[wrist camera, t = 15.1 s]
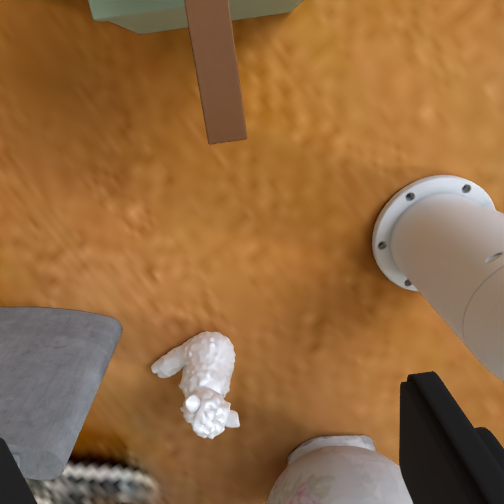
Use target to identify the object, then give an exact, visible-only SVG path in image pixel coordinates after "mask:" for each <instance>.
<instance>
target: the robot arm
mask: <svg viewBox="0 0 504 504" xmlns="http://www.w3.org/2000/svg"><path fill="white" fill-rule="evenodd" d="M463 186H464V187H463ZM462 187H463V188H462ZM408 193H409V195H408V196H407V197H406V195H407V194H408ZM380 242H382V243H381V244H379V243H380ZM372 249H373V254H374V258H375V260H376V262H377V265H378V266H379V268H380V269H381V271H382V272H383V273H384V274H385V276H386V277H387V278H388V279H389V280H390V281H392V282H393V283H395V284H396V285H398V286H400V287H402V288H404V289H407V290H412V291H417V292H420V293H421V294H422V296H423V297H424V298H425V299H426V300H427V301H428V303H429V304H430V305H431V306H432V307H433V308H434V310H435V311H436V312H437V313H438V314H439V315H440V317H441V318H442V319H443V320H444V321H445V322H446V324H447V325H448V326H449V327H450V328H451V329H452V330H453V332H454V333H455V334H456V335H457V336H458V337H459V339H460V340H461V341H462V342H463V343H464V344H465V346H466V347H467V348H468V349H469V350H470V351H471V353H472V354H473V355H474V356H475V357H476V358H477V359H478V360H479V362H480V363H481V364H482V365H483V366H484V367H485V368H486V369H487V370H488V371H489V372H491V373H492V374H493V375H495V376H496V377H497V378H499V379H501V380H502V381H504V214H502V213H500V212H499V211H497V210H495V207H494V204H493V202H492V201H491V199H490V197H489V196H488V194H487V193H486V192H485V191H484V190H483V189H482V188H481V187H479V186H478V185H476V184H475V183H473V182H471V181H469V180H467V179H464V178H461V177H457V176H453V175H436V176H429V177H426V178H423V179H420V180H417V181H415V182H413V183H411V184H409V185H407V186H405V187H404V188H403V189H401V190H400V191H399V192H397V193H396V194H395V195H394V196H393V197H392V198H391V199H390V200H389V201H388V202H387V203H386V205H385V206H384V208H383V209H382V211H381V212H380V214H379V216H378V218H377V221H376V223H375V226H374V230H373V235H372ZM399 465H400V470H401V474H402V478H403V480H404V483H405V485H406V488H407V490H408V492H409V495H410V497H411V499H412V502H413V504H504V448H503V447H502V446H501V444H500V443H499V442H498V440H497V439H496V437H495V436H494V435H493V434H492V433H491V432H490V431H489V430H488V429H486V428H485V427H478V428H474V427H473V426H472V424H471V423H470V421H469V420H468V418H467V417H466V416H465V414H464V413H463V411H462V410H461V408H460V407H459V405H458V404H457V402H456V401H455V400H454V398H453V397H452V395H451V394H450V392H449V391H448V389H447V388H446V386H445V385H444V383H443V382H442V381H441V379H440V378H439V376H438V375H437V374H436V373H435V372H433V371H432V372H425V373H418V374H410V375H408V377H407V382H401V384H400V448H399ZM0 504H37V502H36V500H35V498H34V496H33V494H32V492H31V490H30V488H29V486H28V484H27V483H26V481H25V479H24V477H23V475H22V473H21V471H20V469H19V467H18V465H17V463H16V461H15V459H14V457H13V455H12V453H11V451H10V450H9V448H8V446H7V444H6V442H5V440H4V439H2V438H0Z"/></svg>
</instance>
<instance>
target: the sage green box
mask: <svg viewBox="0 0 504 504" xmlns="http://www.w3.org/2000/svg"><path fill="white" fill-rule="evenodd" d="M302 1H303V0H229V6H230V14H231V21H234V20H241V19H247V18H254V17H261V16H267V15H274V14H281V13H288V12H292V11H293V10H294V9H295V8H296V7H297V6H298V5H299V4H300V3H301V2H302ZM88 2H89V6H90V9H91V13H92V17H93V20H95V21H98V22H103V21H109V22H111V23H114V24H116V25H118V26H121V27H123V28H125V29H128V30H130V31H132V32H135V33H137V34H147V33H154V32H160V31H167V30H174V29H180V28H187V27H188V22H187V16H186V10H185V4H184V0H88Z"/></svg>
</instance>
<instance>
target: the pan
mask: <svg viewBox="0 0 504 504" xmlns="http://www.w3.org/2000/svg"><path fill="white" fill-rule="evenodd" d="M184 4H185V10H186V16H187V22H188V28H189V33H190V39H191V45H192V51H193V57H194V62H195V68H196V74H197V80H198V86H199V91H200V97H201V103H202V109H203V115H204V121H205V126H206V132H207V138H208V144H210V145H211V144H217V143H224V142H231V141H238V140H245V139H247V133H246V125H245V118H244V110H243V103H242V95H241V88H240V81H239V73H238V66H237V58H236V51H235V43H234V36H233V28H232V21H231V14H230V6H229V0H184Z"/></svg>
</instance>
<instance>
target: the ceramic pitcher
mask: <svg viewBox="0 0 504 504" xmlns="http://www.w3.org/2000/svg"><path fill="white" fill-rule="evenodd" d="M375 451H376V450H375V446H374V444H373V440H372V438H370V437H367V436H365V435H356V436H322V437H315V438H312V439H310V440H308V441H306V442H304V443H302V444H301V445H300V446H299V447H298V448H297V449H295V450H294V451H293V452H292V453H291V454H290V455H289V456H288V457H287V464H288V467H287V468H286V469H285V470H284V471H283V472H282V473H281V475H280V476H279V477H278V479H277V481H276V482H275V484H274V486H273V488H272V489H271V491H270V494H269V496H268V499H267V502H266V504H413V502H412V499H411V497H410V495H409V492H408V490H407V488H406V485H405V483H404V480H403V478H402V474H401V470H400V467H399V466H398V465H397V464H395V463H394V462H393V461H392V460H390V459H388V458H387V457H385V456H383V455H381V454H380V453H377V452H375Z"/></svg>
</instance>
